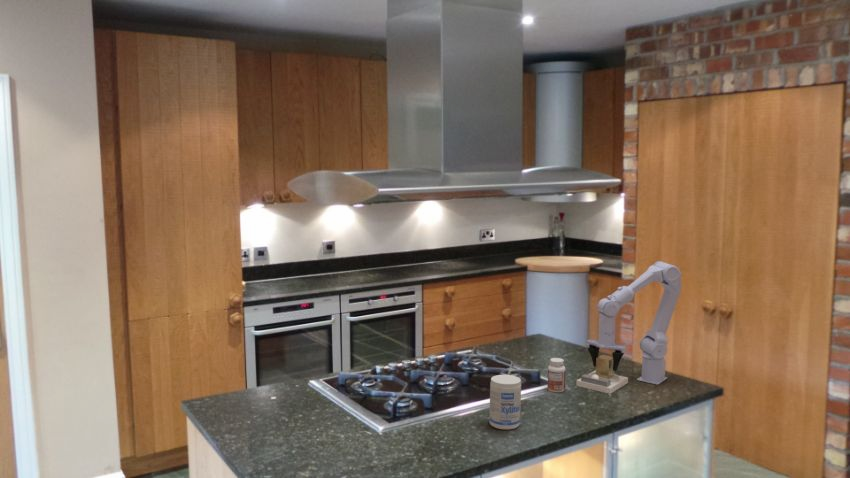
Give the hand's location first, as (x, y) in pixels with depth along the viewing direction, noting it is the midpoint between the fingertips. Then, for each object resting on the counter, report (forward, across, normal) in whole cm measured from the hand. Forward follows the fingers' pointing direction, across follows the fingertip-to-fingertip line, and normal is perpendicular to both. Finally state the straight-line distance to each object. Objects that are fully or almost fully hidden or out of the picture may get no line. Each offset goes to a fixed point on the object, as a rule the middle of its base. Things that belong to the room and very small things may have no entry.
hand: (605, 368), depth 256 cm
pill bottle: (+6, -10, -18) cm, 21 cm away
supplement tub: (+6, -7, -56) cm, 57 cm away
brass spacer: (+3, 0, 0) cm, 3 cm away
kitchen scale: (+6, 0, -2) cm, 6 cm away
